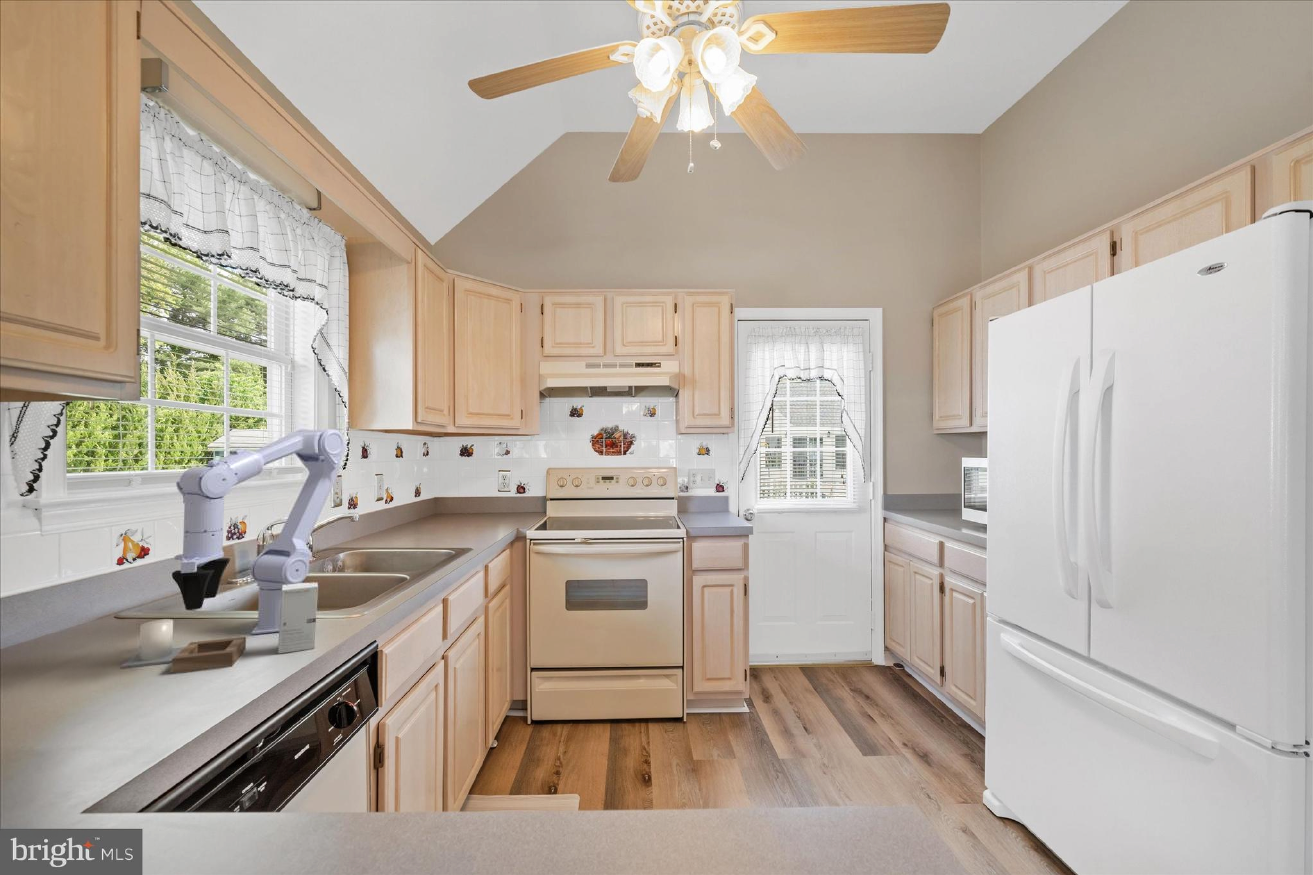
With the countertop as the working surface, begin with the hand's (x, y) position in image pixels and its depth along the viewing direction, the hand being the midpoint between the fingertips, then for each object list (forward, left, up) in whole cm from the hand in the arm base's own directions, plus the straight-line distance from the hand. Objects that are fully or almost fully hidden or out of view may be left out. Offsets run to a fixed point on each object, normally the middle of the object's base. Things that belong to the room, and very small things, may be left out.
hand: (201, 603), depth 102 cm
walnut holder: (+5, +3, -9) cm, 11 cm away
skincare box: (+3, +16, -10) cm, 19 cm away
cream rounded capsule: (0, -6, -9) cm, 11 cm away
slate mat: (0, -7, -9) cm, 11 cm away
